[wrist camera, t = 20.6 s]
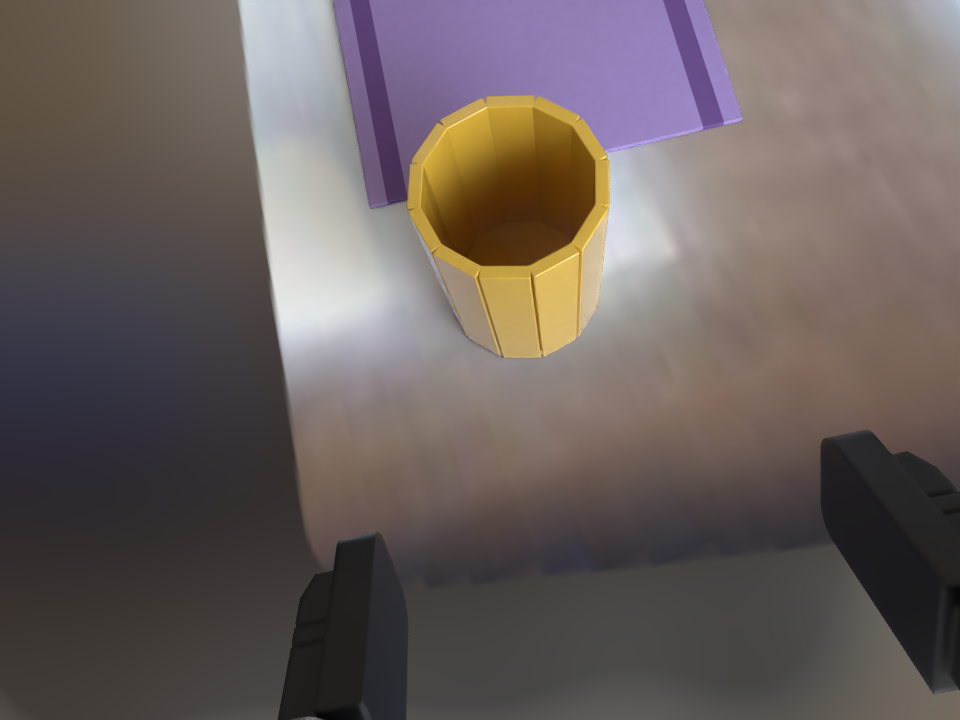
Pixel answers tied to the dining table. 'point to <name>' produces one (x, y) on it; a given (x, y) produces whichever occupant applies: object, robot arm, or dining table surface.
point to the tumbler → (514, 221)
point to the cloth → (527, 70)
